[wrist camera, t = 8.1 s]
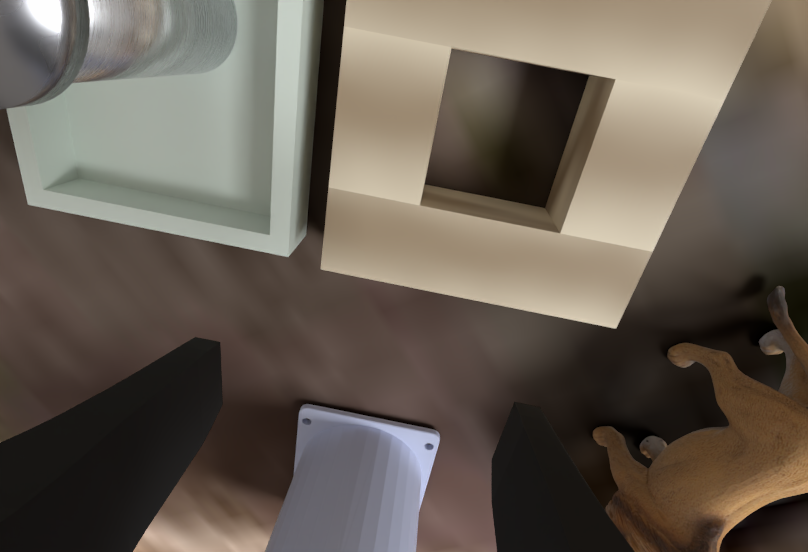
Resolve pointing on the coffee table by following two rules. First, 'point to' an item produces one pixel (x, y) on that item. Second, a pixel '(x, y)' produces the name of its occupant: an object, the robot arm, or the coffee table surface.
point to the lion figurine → (717, 452)
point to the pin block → (580, 164)
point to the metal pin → (107, 42)
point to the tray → (190, 139)
